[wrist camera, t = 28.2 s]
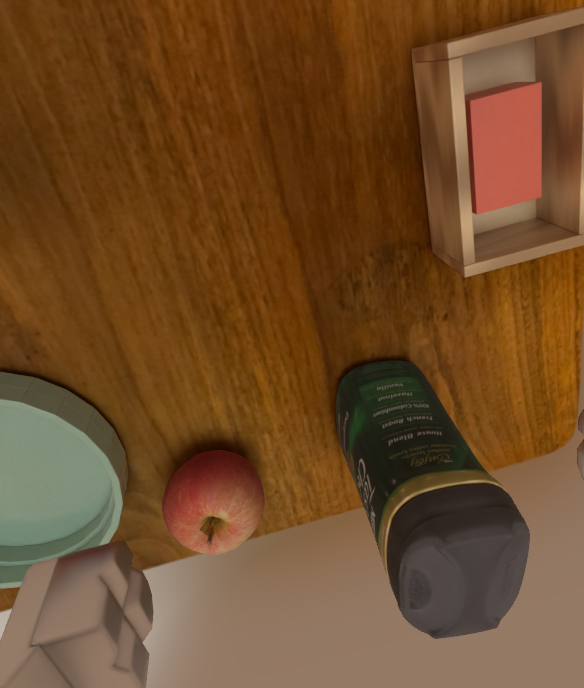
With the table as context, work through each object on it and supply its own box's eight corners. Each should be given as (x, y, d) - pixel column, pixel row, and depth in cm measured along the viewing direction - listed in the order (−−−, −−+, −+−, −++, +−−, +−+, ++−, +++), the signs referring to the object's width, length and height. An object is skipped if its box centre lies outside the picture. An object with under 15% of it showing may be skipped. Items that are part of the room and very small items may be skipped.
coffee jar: (328, 363, 42) (407, 544, 25) (423, 349, 42) (559, 517, 26) (333, 458, 46) (403, 664, 30) (419, 444, 47) (534, 638, 30)
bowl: (-173, 406, 37) (-214, 440, 34) (73, 339, 38) (60, 365, 34) (-41, 571, 46) (-62, 612, 42) (159, 515, 46) (155, 550, 43)
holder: (410, 49, 32) (447, 42, 27) (541, 14, 33) (601, 2, 28) (432, 253, 39) (464, 278, 34) (541, 223, 39) (590, 243, 34)
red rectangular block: (449, 99, 33) (469, 100, 31) (515, 81, 34) (542, 81, 31) (457, 205, 37) (476, 215, 34) (517, 189, 37) (542, 197, 34)
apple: (166, 508, 46) (159, 585, 39) (165, 434, 42) (156, 504, 35) (257, 504, 47) (266, 578, 40) (262, 432, 44) (273, 499, 37)
